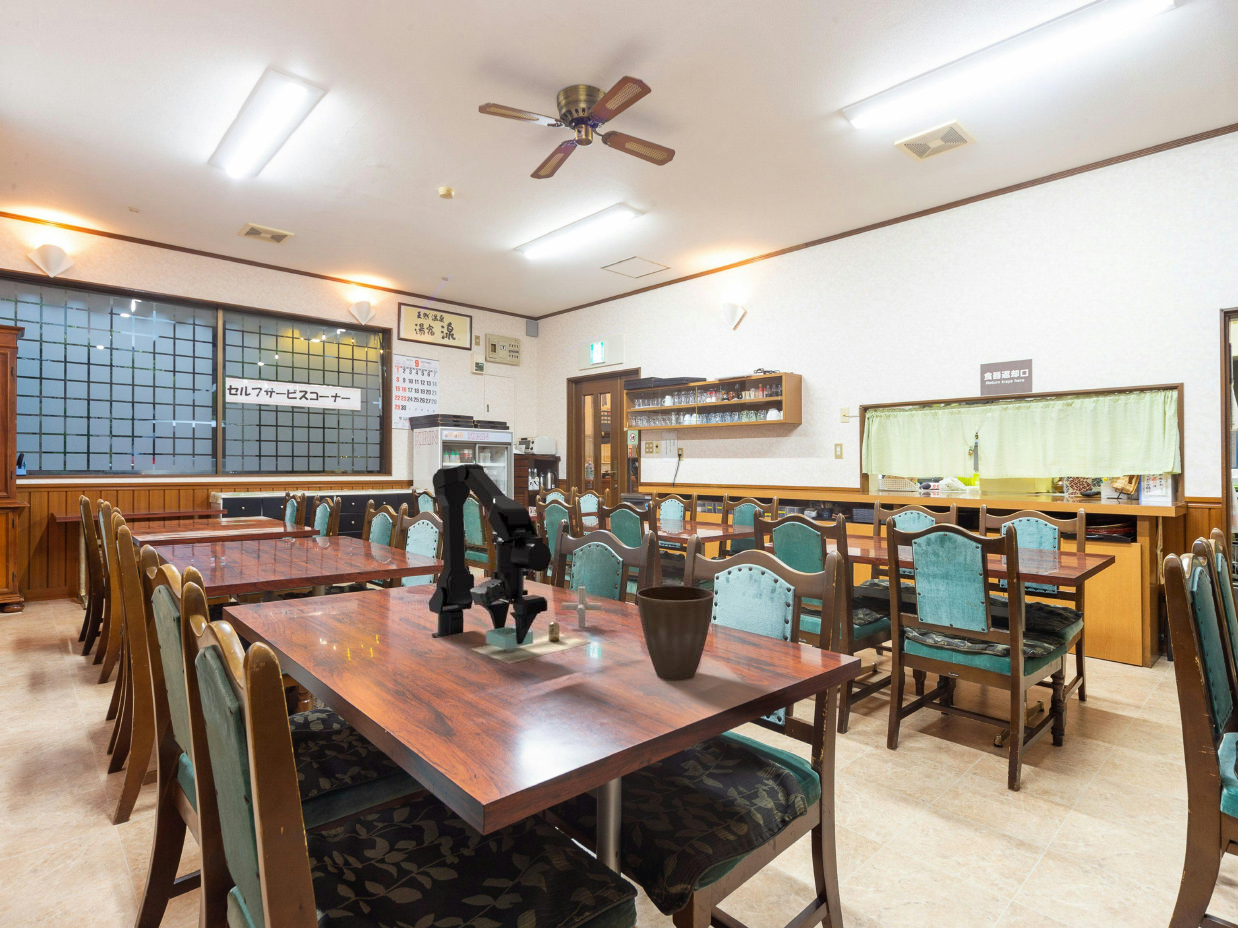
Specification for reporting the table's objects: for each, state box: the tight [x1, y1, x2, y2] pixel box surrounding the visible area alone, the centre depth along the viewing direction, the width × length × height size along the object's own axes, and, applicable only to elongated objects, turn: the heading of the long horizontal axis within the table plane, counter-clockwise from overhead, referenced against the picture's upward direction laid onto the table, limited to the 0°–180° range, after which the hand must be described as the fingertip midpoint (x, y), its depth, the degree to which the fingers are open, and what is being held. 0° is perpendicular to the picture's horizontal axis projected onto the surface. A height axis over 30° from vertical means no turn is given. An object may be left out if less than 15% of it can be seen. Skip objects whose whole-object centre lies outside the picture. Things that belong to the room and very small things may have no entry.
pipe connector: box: [561, 586, 603, 628], centre depth 163 cm, size 10×10×10 cm
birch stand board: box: [471, 631, 592, 664], centre depth 139 cm, size 14×22×6 cm, turn 135°
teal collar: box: [485, 624, 534, 650], centre depth 135 cm, size 7×7×2 cm
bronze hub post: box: [548, 621, 560, 642], centre depth 144 cm, size 2×2×4 cm
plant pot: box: [636, 585, 715, 682], centre depth 125 cm, size 15×15×16 cm
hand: (509, 640), depth 135 cm, fingers closed on teal collar, 7 cm apart
